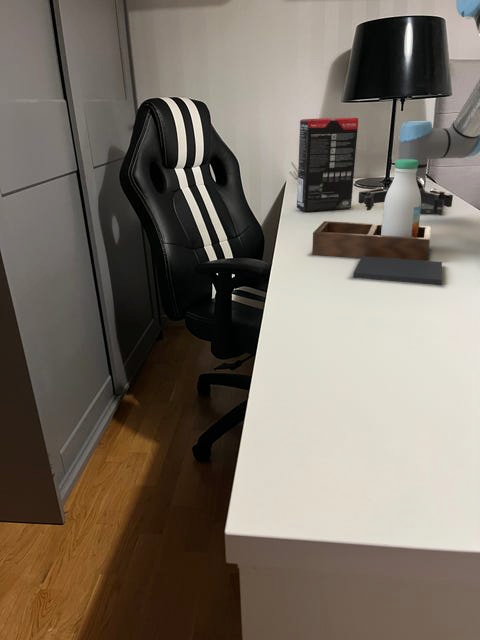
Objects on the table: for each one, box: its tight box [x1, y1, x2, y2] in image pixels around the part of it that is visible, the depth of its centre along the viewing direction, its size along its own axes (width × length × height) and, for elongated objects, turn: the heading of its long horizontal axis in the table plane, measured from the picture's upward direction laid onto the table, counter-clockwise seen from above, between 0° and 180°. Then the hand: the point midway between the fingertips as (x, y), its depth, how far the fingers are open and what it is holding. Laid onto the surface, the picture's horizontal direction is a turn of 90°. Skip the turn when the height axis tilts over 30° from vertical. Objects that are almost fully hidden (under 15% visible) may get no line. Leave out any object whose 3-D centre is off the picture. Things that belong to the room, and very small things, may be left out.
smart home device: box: [420, 203, 443, 215], centre depth 158 cm, size 8×2×20 cm
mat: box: [352, 256, 443, 286], centre depth 99 cm, size 16×12×1 cm
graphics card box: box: [296, 117, 359, 212], centre depth 155 cm, size 17×7×27 cm, turn 109°
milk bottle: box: [381, 159, 421, 237], centre depth 108 cm, size 8×8×20 cm
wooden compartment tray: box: [311, 220, 432, 261], centre depth 113 cm, size 24×12×5 cm, turn 70°
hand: (401, 205), depth 106 cm, fingers open, 13 cm apart
